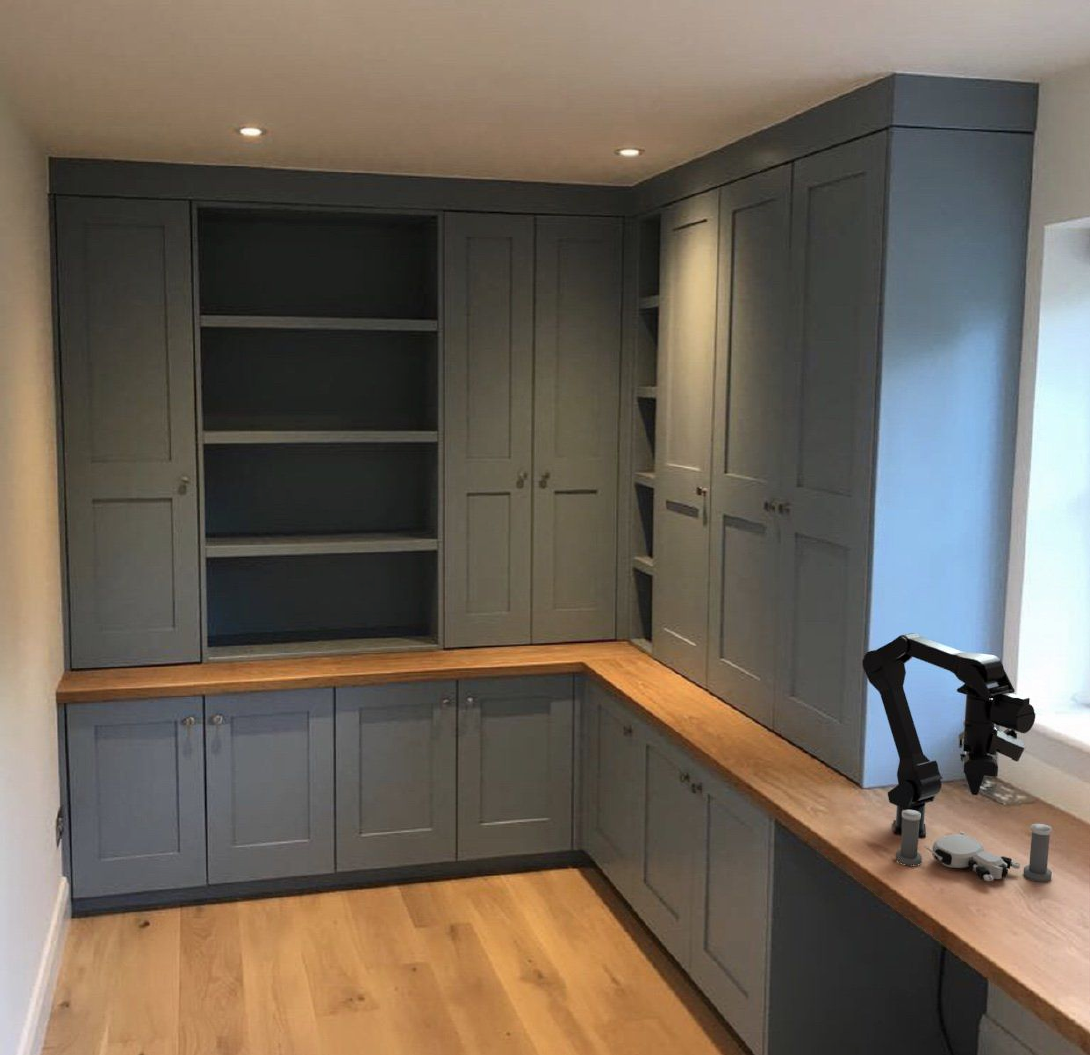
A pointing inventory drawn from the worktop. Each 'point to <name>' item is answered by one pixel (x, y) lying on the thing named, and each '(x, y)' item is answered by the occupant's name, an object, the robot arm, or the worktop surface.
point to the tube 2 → (1039, 854)
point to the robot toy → (971, 856)
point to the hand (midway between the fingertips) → (974, 794)
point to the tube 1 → (909, 839)
